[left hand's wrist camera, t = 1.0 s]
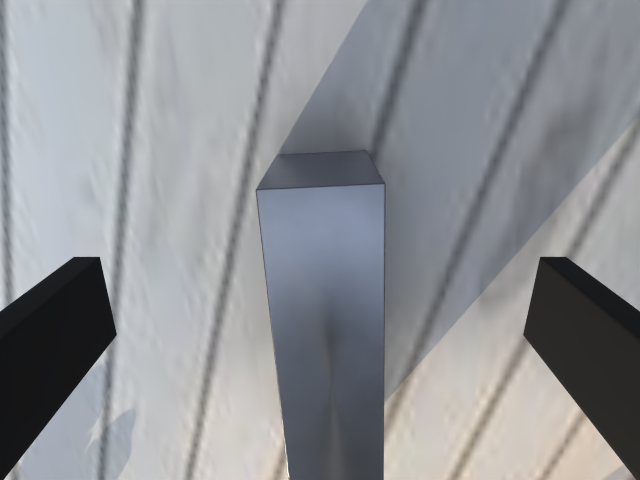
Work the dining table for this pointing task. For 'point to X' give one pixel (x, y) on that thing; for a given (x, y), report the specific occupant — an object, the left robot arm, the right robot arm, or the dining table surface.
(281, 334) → the bar
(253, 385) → the dining table surface
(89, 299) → the left robot arm
